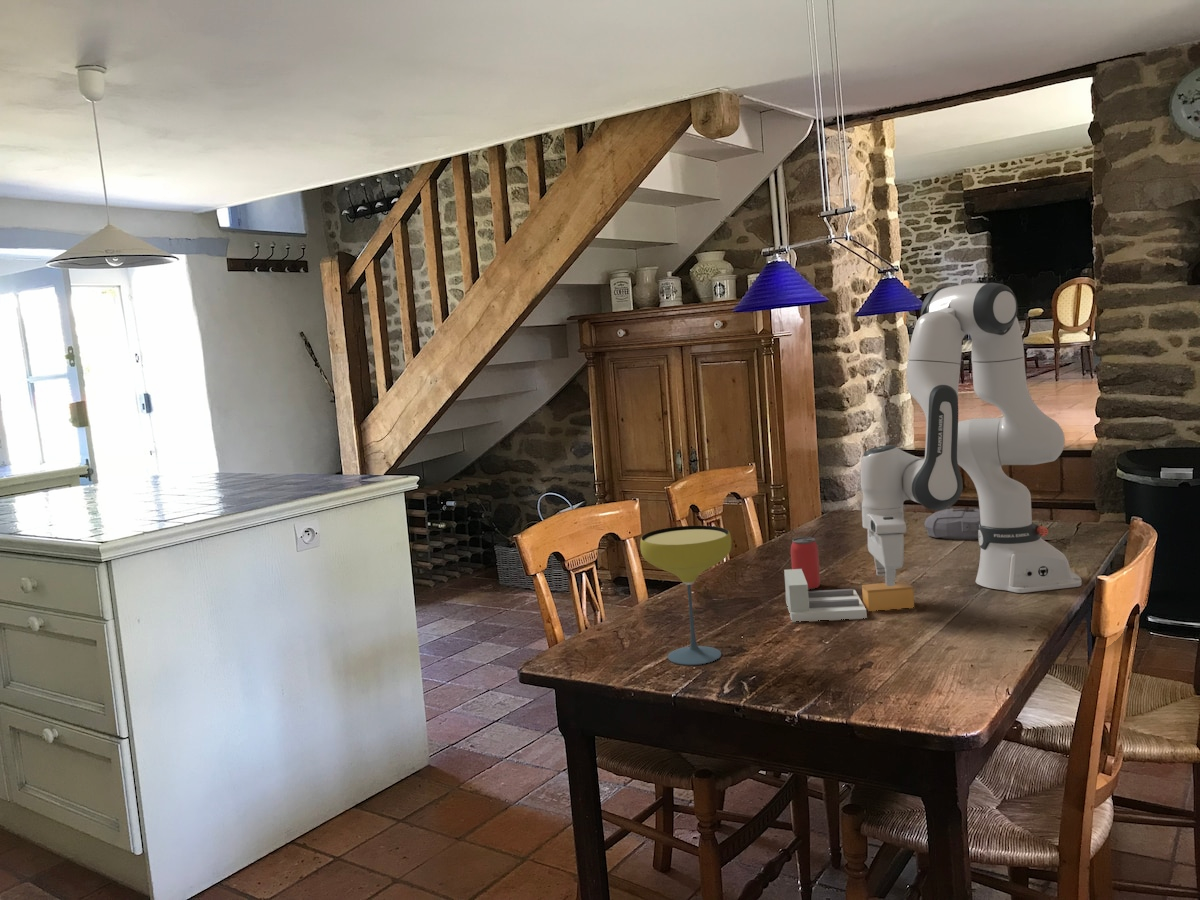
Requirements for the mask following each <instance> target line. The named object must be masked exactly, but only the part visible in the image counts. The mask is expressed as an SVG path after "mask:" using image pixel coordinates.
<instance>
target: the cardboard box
mask: <svg viewBox="0 0 1200 900" xmlns="http://www.w3.org/2000/svg"><path fill="white" fill-rule="evenodd" d="M861 590H862V593H861V594H862V603H863V605H864V606H865V607H866V611H868V612H869V611H872V612H879V611H878V610H885V611H891V610H890V609H897V610H902V609H901V608H909V609H914V608H915V599H914V598H915V597H914V586H913V585H911V583H909V582H908V581H906V580H904V581H895V585H894V586H887V585H886V584H885V582H881V583H868V584H862V585H861ZM913 607H914V608H913ZM876 610H877V611H876Z"/></svg>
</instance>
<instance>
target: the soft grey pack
mask: <svg viewBox="0 0 1200 900" xmlns="http://www.w3.org/2000/svg"><path fill="white" fill-rule="evenodd" d="M979 523H980V508H976V506H974V507H969V506H967V507H953V508H947V509H944V510H938V511H935V512H934V513H932V514H931V515H929V516H928V517H926V518H925V521H924V525H923V526H925V527H924V528H926V532H927V535H928V536H929V537H932V538H936V539H937V538H938V539H943V540H952V539H954V540H957V541H967V540H969V541H970V540H971V541H975V540H978V541H979V537H978V530H979ZM954 540H953V541H954Z"/></svg>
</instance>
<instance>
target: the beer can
mask: <svg viewBox="0 0 1200 900" xmlns="http://www.w3.org/2000/svg"><path fill="white" fill-rule="evenodd" d="M791 541H792V543H791V545H790V559H791V561H790V563H791V569H802V571H803V574H804V576H805V579H806V581H807V584H808V591H811V590H816V589H818V588H819V587H820V585H821V576H820V575H821V574H820V559H819V547H818V545H817V542H816V539H815V538H814V537H811V536H810V537H809V536H807V537H806V536H803V537H802V536H801V537H796V538H792V540H791ZM815 588H816V589H815ZM810 589H811V590H810Z"/></svg>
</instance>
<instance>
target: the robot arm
mask: <svg viewBox="0 0 1200 900" xmlns="http://www.w3.org/2000/svg"><path fill="white" fill-rule="evenodd" d="M1017 315H1018V301H1017V296H1016V295H1015V293H1014V292H1013V290H1012V289H1011V288H1010V287H1009V286H1008V285H1005V284H1003V283H998V282H997V283H996V282H989V283H988V282H987V283H982V282H981V283H979V282H976V283H975V282H973V283H972V282H971V283H963V284H958V285H953V286H941V287H938V288H936V289H933V290H931V291H930V292H929V293H928V294H926V297H925V298H924V300H923V302H922V305H921V308H920V317H918V319H917V321H916V322H915V325H914V328H913V330H912V334H911V339H910V343H909V346H908V347H909V348H908V354H907V360H906V361H907V364H906V374H905V375H906V385H907V386H906V387H907V391H908V393H909V394H910V396H911V397H912V399H914V400H915V402H917V404H918V405H919V406H920V408H921V410H922V412H923V414H924V417H925V423H926V424H925V448H924V449H925V450H924V458H923V457H919V456H915V455H914V454H911V453H909V452H906V451H904V450H902V449H900V447H897V446H896V445H893V444H886V445H879V446H876V447H875V446H874V447H872V448H870V449H868V450H866V451H865V452H864V453H863V455H862V457H861V461H860V462H861V463H860V489H861V491H862V501H861V520H862V521H861V522H862V528H863V529H866V530H867V550H868V553H870V555H871V556H872V557H873V561H874V566H875V570H876V571H875V575H876V576H878V577H880V578H881V577H882V578H883V577H884V583H885V584H886V585H887V586H894V585H895V582H896V574H897V569H898V570H900V569H902V567H903V564H904V555H905V553H904V552H905V537H904V536H905V535H904V534H906V533H907V523H906V521H905V514H904V502H905V501H913V502H915V503H917V504H920V505H921V506H922V507H924V508H926V509H928V510H930V511H936V512H938V511H942V510H946V509H950V508H951V507H953V506H954V505H955V504H956V503H957V502H958V501H959V499H960V497H961V495H962V492H963V489H964V488H963V485H964V483H963V477H962V474H961V472H960V468H959V467H961V468H962V469H963V470H964V471H965V472H966V473H967V475H968V476H969V477H970V479H971V481H972V482H973V484H974V487H975V490H976V493H977V499H978V507H979V508H978V509H980V523H979V530H978V537H979V540H978V544H979V545H978V546H979V548H980V552H979V554H980V556H979V562H978V563H979V565H978V568H977V574H976V578H975V583H976V584H977V585H979V586H981V587H984V588H988V589H994V590H1000V591H1008V592H1011V593H1018V594H1025V593H1032V592H1041V591H1043V592H1044V591H1051V590H1052V591H1053V590H1059V589H1069V588H1076V587H1077V588H1078V587H1081V586H1082V585H1083V583H1082V578H1081V577H1080V576H1079V575H1078V574H1077V573H1076V572H1073V571H1071V567H1070V563H1069V561H1068V558H1067V557H1066V555H1065V554H1064V553H1063V552H1061V551H1060V550H1059V549H1058V548H1056V547H1055V546H1053V545H1051V544H1050V543H1049V542H1047V541H1046V540H1044V539H1042V538H1041V537H1046V536H1047V535H1048V534H1049V529H1048V528H1047V527H1045V526H1044V525H1039V524H1037V523H1035V522H1033V519H1032V497H1031V492H1030V490H1029V489H1028V488H1027V486H1026V485H1024V484H1023V483H1022V482H1020V481H1018V480H1016V479H1014V478H1011V477H1009V476H1008V475H1007V474H1006V473H1005V471H1004V470H1003V468H1002V467H1003V466H1034V465H1040V464H1046V463H1051V462H1055V461H1056V460H1057V459H1058V458H1059V457H1060V456H1061V454H1062V453H1063V451H1064V448H1065V443H1066V442H1065V439H1066V438H1065V433H1064V431H1063V429H1062V427H1061V425H1060V424H1059V423H1058V422H1057V421H1056V420H1055V419H1053V418H1051V417H1050V416H1048V415H1047V414H1046V413H1044V412H1043V411H1042V410H1041V409H1040V408H1039V407H1038V406H1037V404H1036V403H1035V402H1034V400H1033V399H1032V396H1031V394H1030V393H1031V392H1030V391H1029V388H1028V382H1027V374H1026V365H1025V362H1026V361H1025V350H1024V348H1025V347H1024V341H1023V336H1022V332H1021V331H1022V330H1021V327H1020V323H1019V319H1018V317H1017ZM966 335H969V336H970V339H971V367H972V368H971V369H972V382H973V385H972V386H973V392H974V393H975V395H976V396H977V397H978V398H979V399H980V400H982V401H983V402H985V403H988V404H990V405H992V406H994V407H996V408H997V409H999V411H1000V412H1001V414H1002V417H982V418H970V419H969V418H968V419H963V420H959V384H960V375H961V374H960V373H961V363H962V350H963V349H962V346H963V345H962V344H963V339H964V338H965V336H966Z"/></svg>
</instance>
